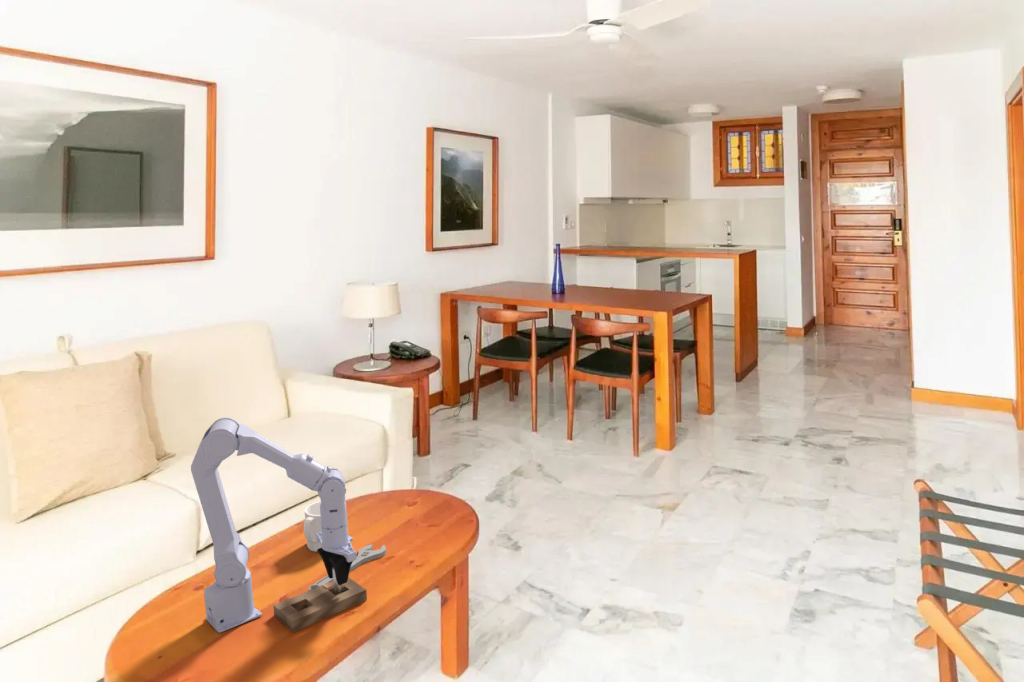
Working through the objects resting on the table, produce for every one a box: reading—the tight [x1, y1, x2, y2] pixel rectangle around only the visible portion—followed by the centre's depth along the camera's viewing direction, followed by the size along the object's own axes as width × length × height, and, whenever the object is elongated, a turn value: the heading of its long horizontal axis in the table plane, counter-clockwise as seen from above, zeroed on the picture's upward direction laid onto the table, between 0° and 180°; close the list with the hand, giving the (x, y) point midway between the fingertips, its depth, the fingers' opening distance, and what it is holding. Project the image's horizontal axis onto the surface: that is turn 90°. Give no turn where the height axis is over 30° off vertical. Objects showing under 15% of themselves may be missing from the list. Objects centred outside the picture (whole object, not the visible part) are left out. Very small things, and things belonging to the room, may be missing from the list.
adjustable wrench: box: [308, 544, 387, 591], centre depth 173 cm, size 25×6×2 cm, turn 146°
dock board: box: [273, 576, 368, 633], centre depth 156 cm, size 18×9×3 cm, turn 133°
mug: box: [303, 500, 322, 553], centre depth 185 cm, size 13×10×10 cm
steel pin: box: [332, 567, 344, 596], centre depth 158 cm, size 2×2×8 cm
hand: (338, 579), depth 158 cm, fingers open, 3 cm apart
